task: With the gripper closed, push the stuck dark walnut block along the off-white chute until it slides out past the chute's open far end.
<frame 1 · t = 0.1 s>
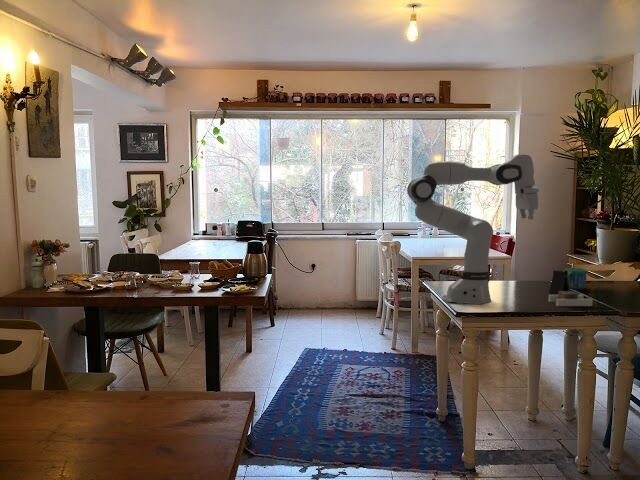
hand: (527, 218, 238), 39 cm above the table, tool pointing down, fingers open, 8 cm apart
snack cup: (575, 288, 268), on the table
chute: (569, 305, 229), on the table
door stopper: (559, 293, 257), on the table
walnut block: (567, 298, 229), point 4 cm above the table, slide at 0.0 cm
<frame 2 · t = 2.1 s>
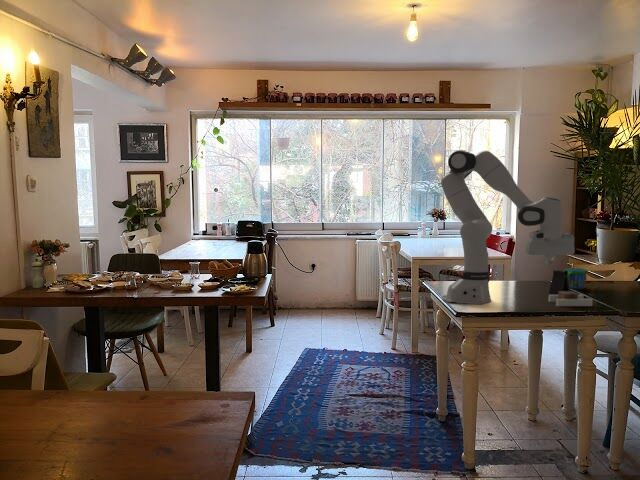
hand: (549, 264, 228), 19 cm above the table, tool pointing down, fingers closed
nothing on the table moved.
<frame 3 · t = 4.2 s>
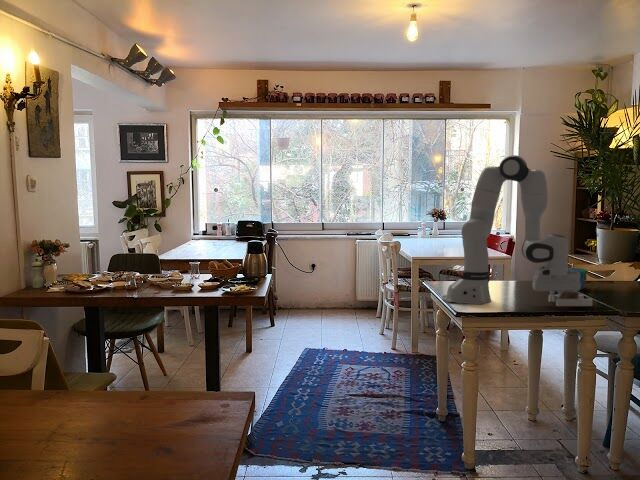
hand: (555, 300, 229), 2 cm above the table, tool pointing down, fingers closed
walnut block: (568, 298, 229), point 4 cm above the table, slide at 0.2 cm, touching gripper
everything else where it was.
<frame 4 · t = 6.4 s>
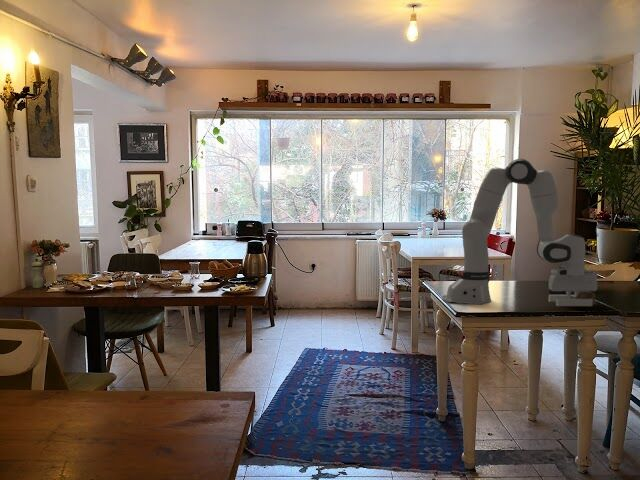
hand: (572, 300, 229), 2 cm above the table, tool pointing down, fingers closed
walnut block: (584, 298, 228), point 4 cm above the table, slide at 7.5 cm, touching gripper
everything else where it was.
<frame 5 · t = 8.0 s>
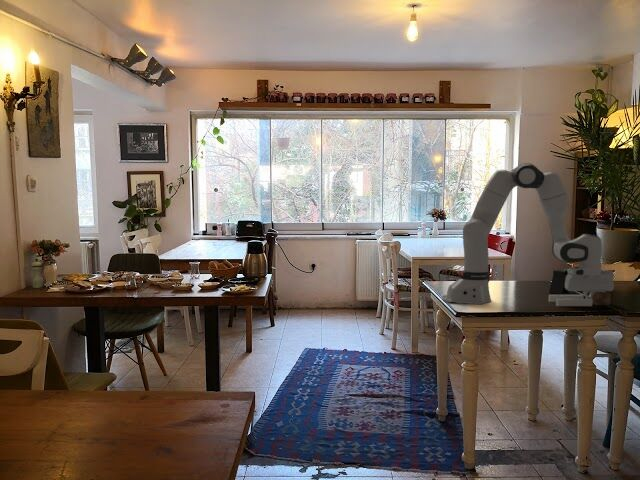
hand: (588, 300, 228), 2 cm above the table, tool pointing down, fingers closed
walnut block: (600, 297, 228), point 4 cm above the table, slide at 14.1 cm, touching gripper
everything else where it was.
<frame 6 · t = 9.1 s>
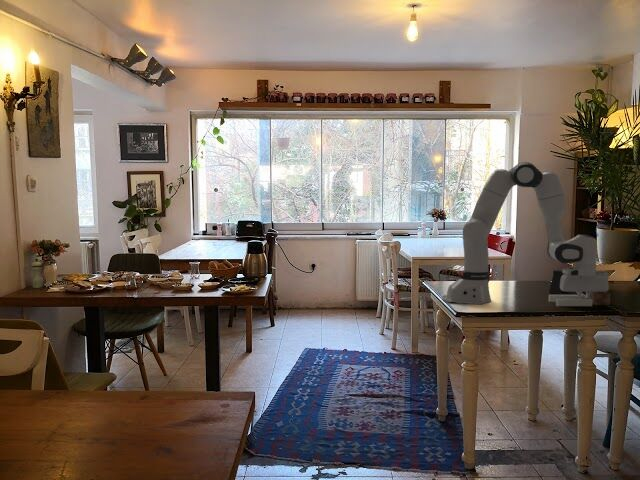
hand: (583, 301, 229), 2 cm above the table, tool pointing down, fingers closed
walnut block: (599, 297, 228), point 4 cm above the table, slide at 14.0 cm
everything else where it was.
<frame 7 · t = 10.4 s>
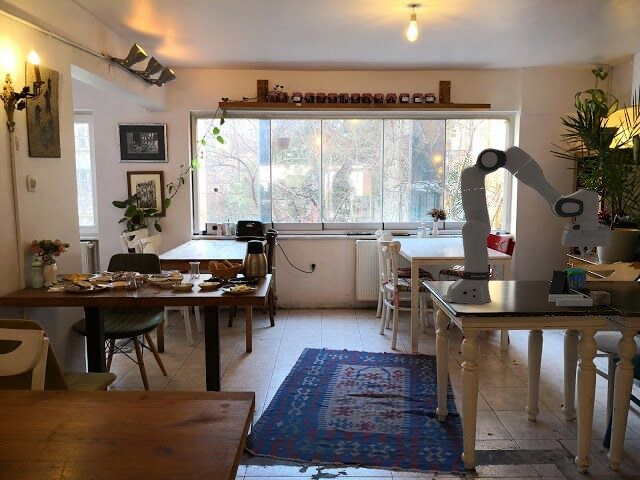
hand: (585, 256, 227), 22 cm above the table, tool pointing down, fingers closed
nothing on the table moved.
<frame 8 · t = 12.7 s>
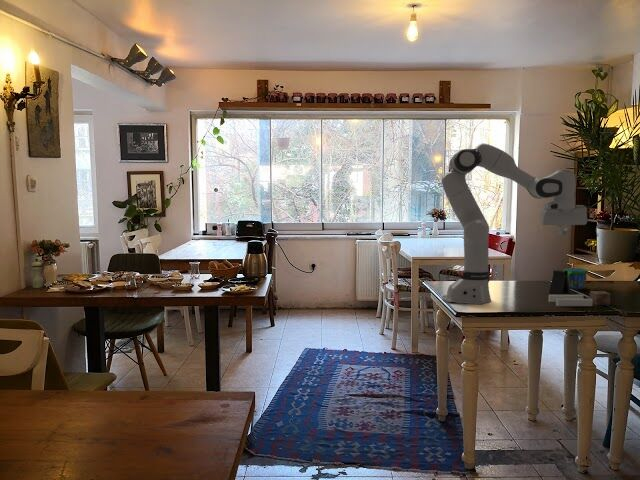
hand: (563, 234, 238), 31 cm above the table, tool pointing down, fingers closed
nothing on the table moved.
at the end: walnut block slide at 14.0 cm; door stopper moved 0.3 cm from its start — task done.
